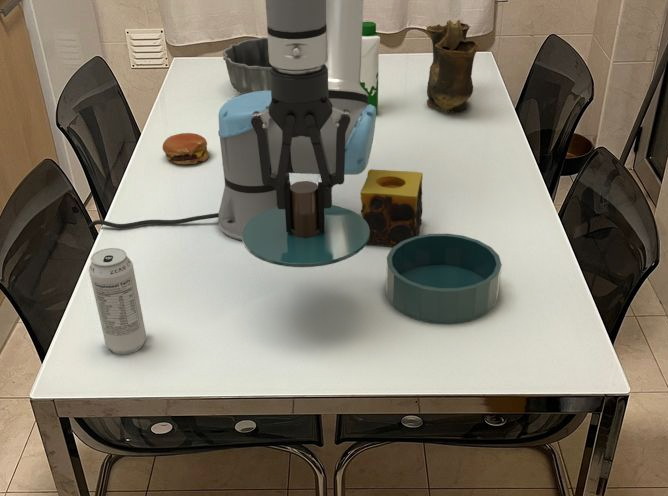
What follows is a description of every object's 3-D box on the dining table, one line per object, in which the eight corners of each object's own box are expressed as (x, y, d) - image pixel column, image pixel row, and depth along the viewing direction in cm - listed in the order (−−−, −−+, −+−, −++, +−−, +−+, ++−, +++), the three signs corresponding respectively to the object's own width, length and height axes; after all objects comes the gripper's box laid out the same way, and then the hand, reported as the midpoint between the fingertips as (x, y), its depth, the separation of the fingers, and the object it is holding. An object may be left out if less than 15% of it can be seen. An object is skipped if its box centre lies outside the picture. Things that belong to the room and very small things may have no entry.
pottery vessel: (478, 126, 189) (486, 36, 178) (430, 127, 190) (435, 37, 178) (464, 88, 210) (470, 5, 198) (421, 89, 210) (424, 6, 198)
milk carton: (382, 116, 196) (383, 28, 184) (346, 121, 194) (344, 32, 182) (370, 103, 202) (370, 18, 191) (334, 108, 200) (332, 22, 189)
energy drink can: (149, 331, 127) (133, 244, 118) (144, 355, 122) (127, 266, 113) (109, 333, 126) (90, 246, 118) (102, 357, 122) (82, 268, 113)
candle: (416, 249, 145) (418, 197, 139) (359, 245, 147) (358, 193, 141) (422, 222, 153) (425, 171, 147) (368, 218, 155) (368, 168, 149)
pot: (389, 325, 127) (389, 291, 123) (384, 265, 141) (384, 234, 137) (505, 323, 126) (509, 290, 123) (488, 264, 140) (492, 232, 137)
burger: (173, 147, 183) (170, 127, 180) (214, 149, 182) (211, 129, 179) (158, 166, 175) (155, 145, 173) (201, 168, 174) (199, 147, 171)
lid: (236, 272, 115) (230, 218, 110) (248, 210, 130) (244, 161, 125) (371, 270, 114) (372, 216, 110) (368, 208, 129) (368, 159, 125)
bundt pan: (287, 67, 226) (285, 29, 220) (351, 91, 210) (351, 50, 204) (206, 90, 213) (201, 50, 207) (267, 117, 196) (264, 75, 191)
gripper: (229, 76, 104) (244, 241, 118) (365, 73, 104) (365, 239, 118) (235, 57, 110) (249, 216, 124) (364, 55, 110) (363, 214, 124)
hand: (305, 227), depth 121 cm, fingers closed on lid, 4 cm apart
